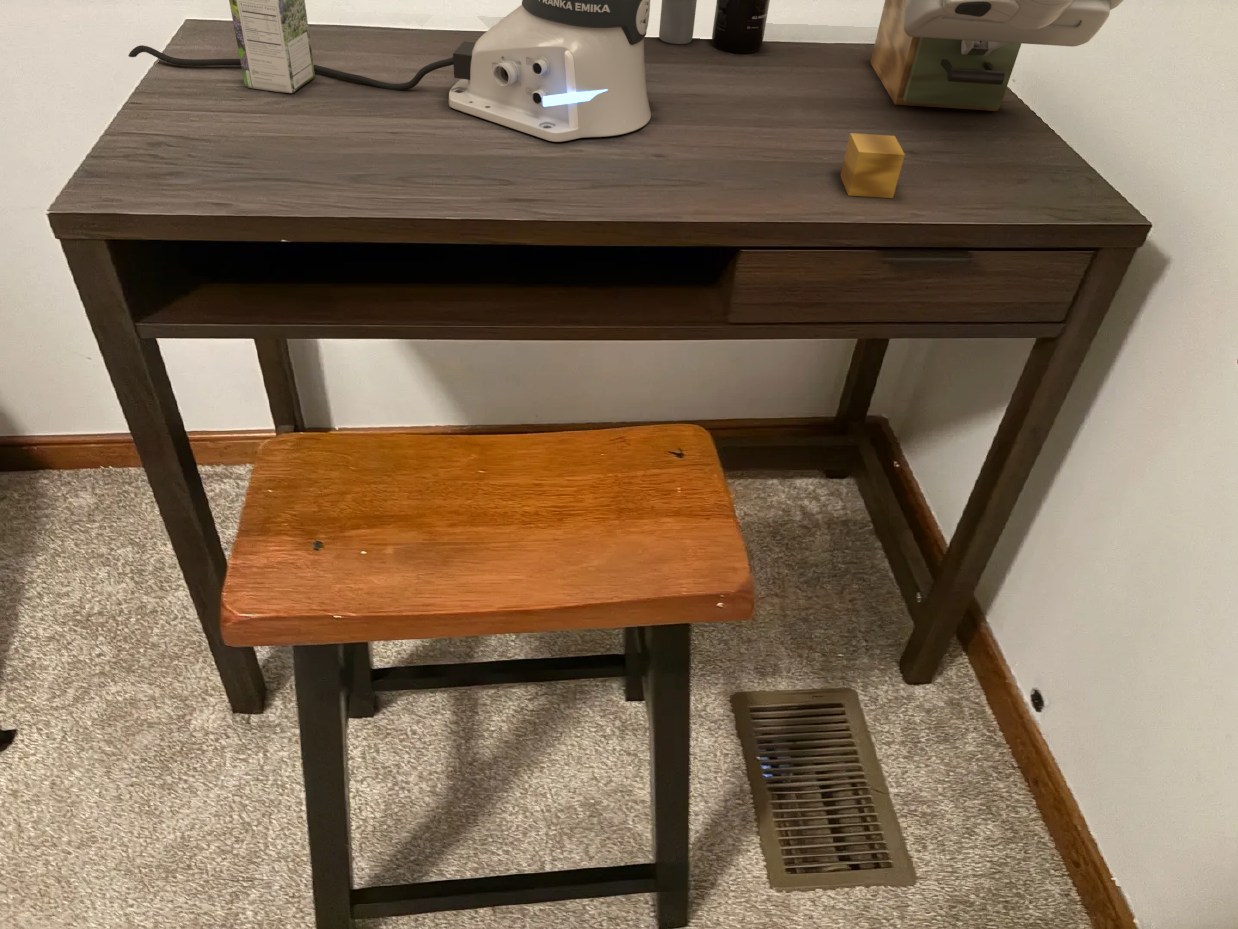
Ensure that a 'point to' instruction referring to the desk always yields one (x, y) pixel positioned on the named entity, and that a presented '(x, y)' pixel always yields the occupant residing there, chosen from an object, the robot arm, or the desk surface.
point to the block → (872, 165)
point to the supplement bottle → (740, 25)
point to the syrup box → (273, 43)
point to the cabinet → (898, 55)
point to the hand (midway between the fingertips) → (973, 48)
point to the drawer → (959, 74)
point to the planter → (677, 21)
